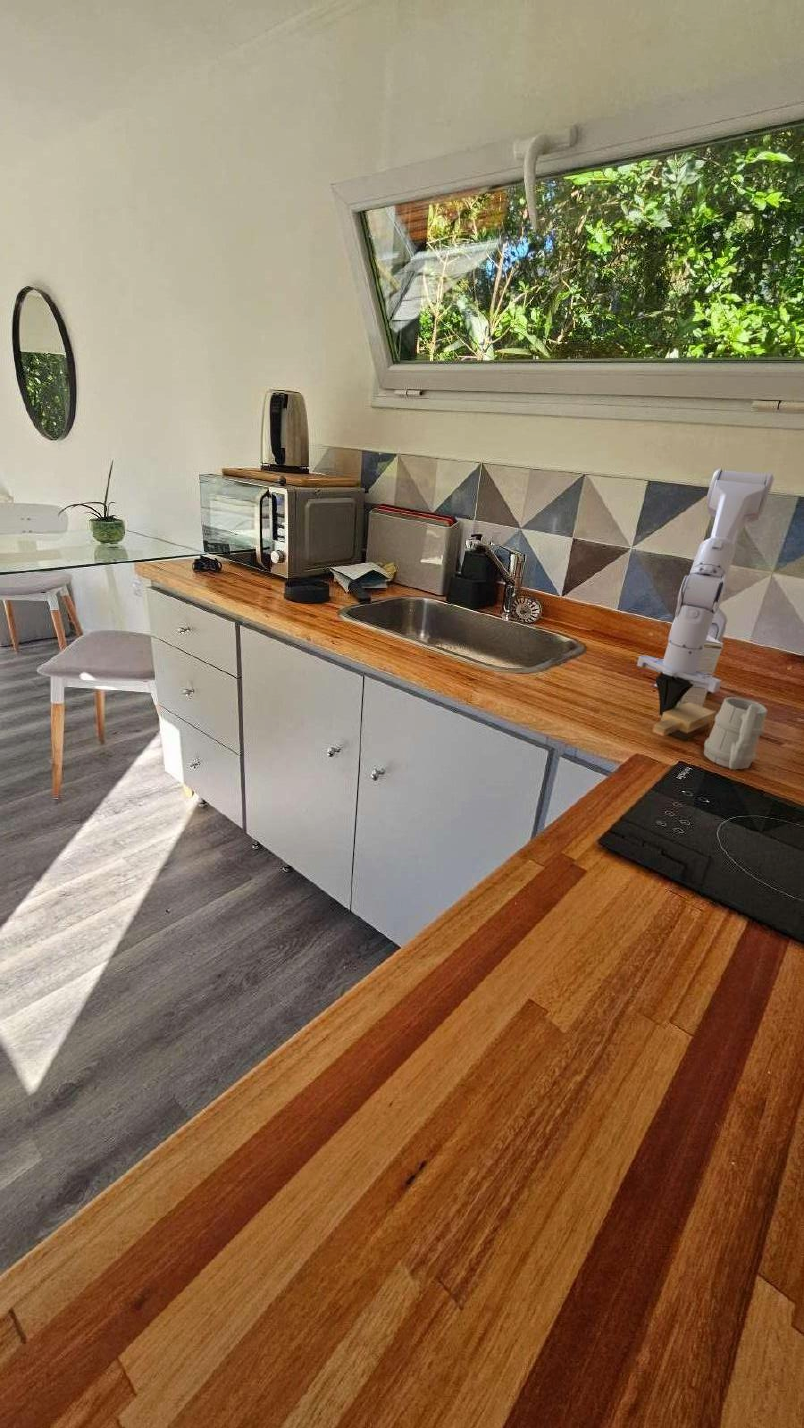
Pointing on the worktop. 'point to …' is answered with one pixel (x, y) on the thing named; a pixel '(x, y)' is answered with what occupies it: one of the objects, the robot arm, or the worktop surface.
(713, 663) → the syrup box
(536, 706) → the worktop surface
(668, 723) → the scrub brush
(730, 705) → the mug
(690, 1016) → the worktop surface
